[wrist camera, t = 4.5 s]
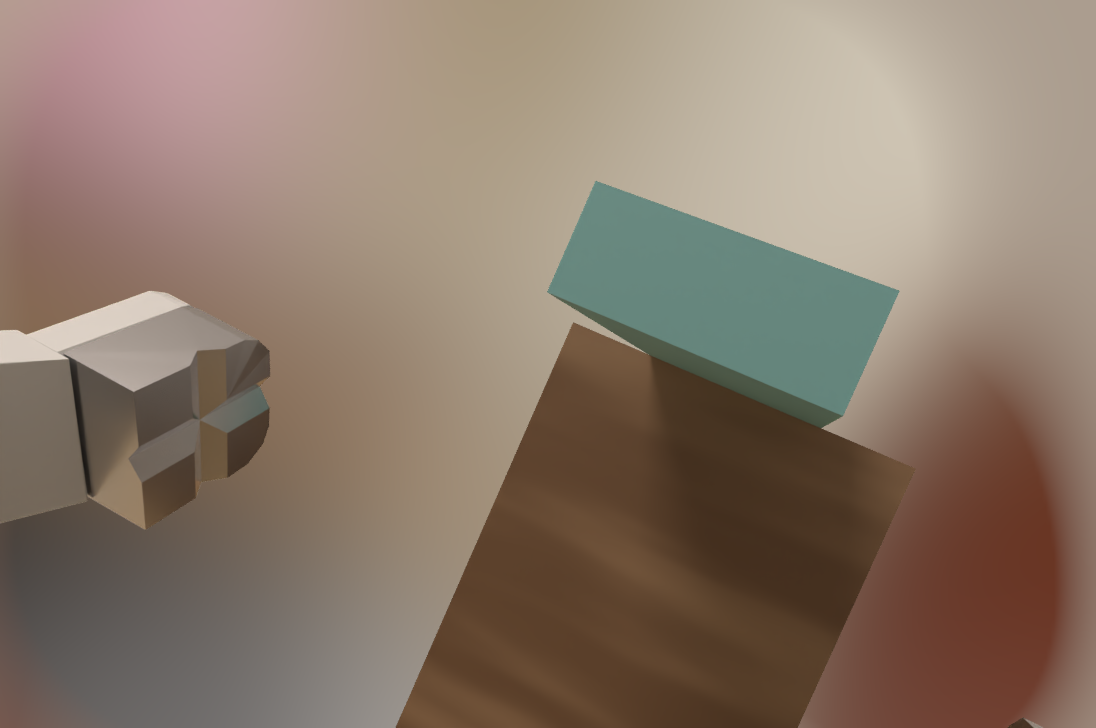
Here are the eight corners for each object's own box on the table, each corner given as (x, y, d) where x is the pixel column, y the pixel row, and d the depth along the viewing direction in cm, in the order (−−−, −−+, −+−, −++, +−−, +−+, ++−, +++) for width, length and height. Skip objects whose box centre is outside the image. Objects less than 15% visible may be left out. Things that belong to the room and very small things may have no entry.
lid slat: (842, 415, 9) (900, 291, 9) (547, 291, 11) (595, 181, 11) (809, 434, 28) (828, 393, 28) (705, 389, 30) (722, 349, 30)
